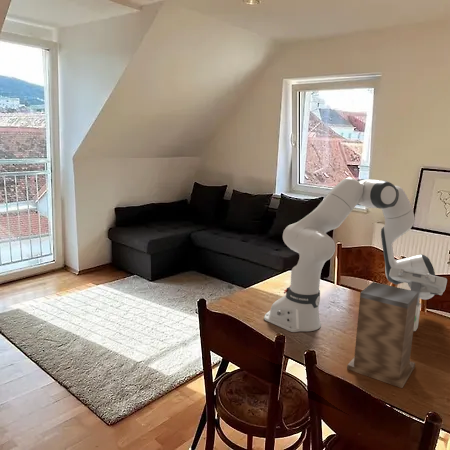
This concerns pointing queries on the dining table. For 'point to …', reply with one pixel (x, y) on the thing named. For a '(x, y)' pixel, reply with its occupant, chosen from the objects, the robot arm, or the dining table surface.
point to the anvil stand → (385, 334)
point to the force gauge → (417, 288)
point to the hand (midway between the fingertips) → (414, 273)
